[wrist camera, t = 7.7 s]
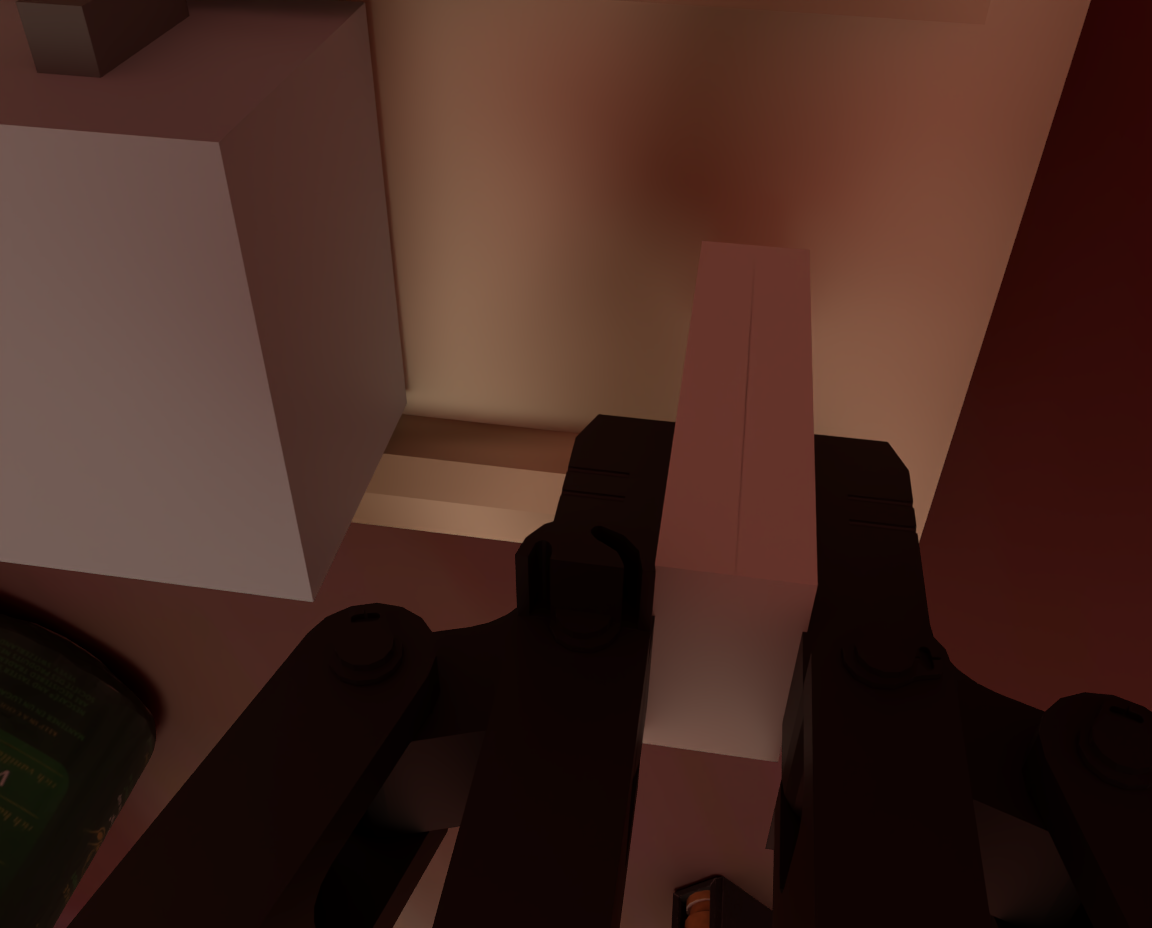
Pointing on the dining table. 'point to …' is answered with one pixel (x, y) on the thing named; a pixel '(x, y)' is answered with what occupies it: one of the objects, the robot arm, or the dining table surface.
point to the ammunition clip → (718, 907)
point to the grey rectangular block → (191, 289)
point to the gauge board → (688, 216)
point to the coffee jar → (59, 766)
